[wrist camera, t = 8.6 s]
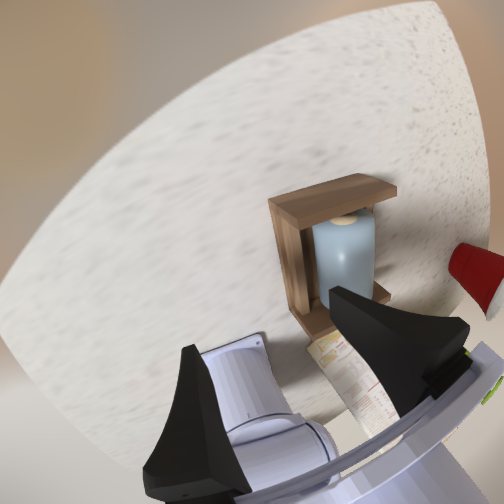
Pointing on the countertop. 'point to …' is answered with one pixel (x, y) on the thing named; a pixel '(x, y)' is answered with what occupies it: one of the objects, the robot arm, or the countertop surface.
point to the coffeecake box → (356, 385)
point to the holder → (302, 241)
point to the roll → (346, 253)
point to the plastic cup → (480, 276)
